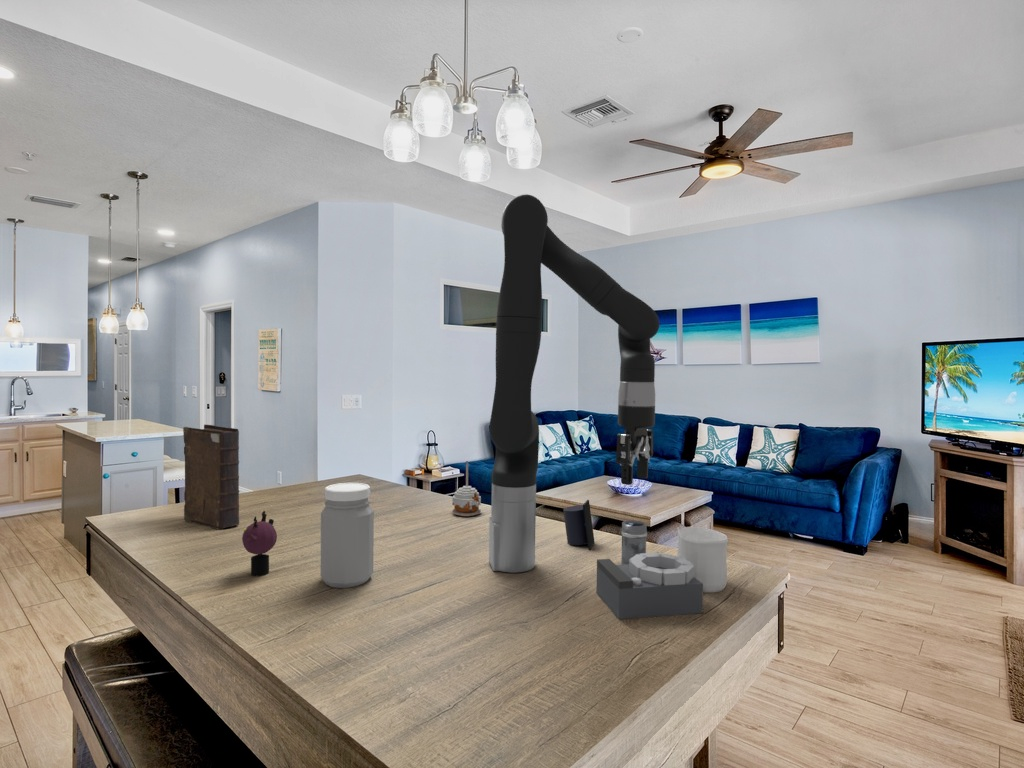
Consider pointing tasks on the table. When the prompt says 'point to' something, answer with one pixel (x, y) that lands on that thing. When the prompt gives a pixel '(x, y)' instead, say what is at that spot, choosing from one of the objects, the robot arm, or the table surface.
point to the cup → (705, 555)
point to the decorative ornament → (466, 500)
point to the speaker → (579, 525)
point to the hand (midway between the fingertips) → (634, 481)
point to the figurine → (259, 544)
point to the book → (211, 476)
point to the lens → (633, 539)
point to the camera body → (649, 586)
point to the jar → (347, 535)
